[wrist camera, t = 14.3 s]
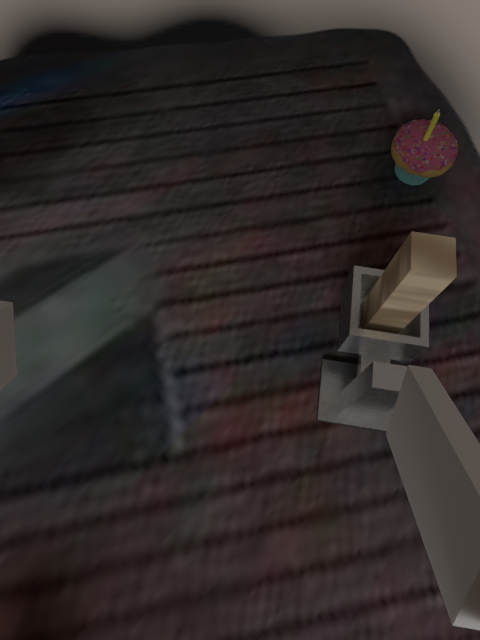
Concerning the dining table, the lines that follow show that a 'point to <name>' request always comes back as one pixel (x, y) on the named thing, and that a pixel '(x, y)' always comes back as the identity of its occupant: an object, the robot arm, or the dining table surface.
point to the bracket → (367, 361)
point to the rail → (410, 282)
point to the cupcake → (423, 150)
